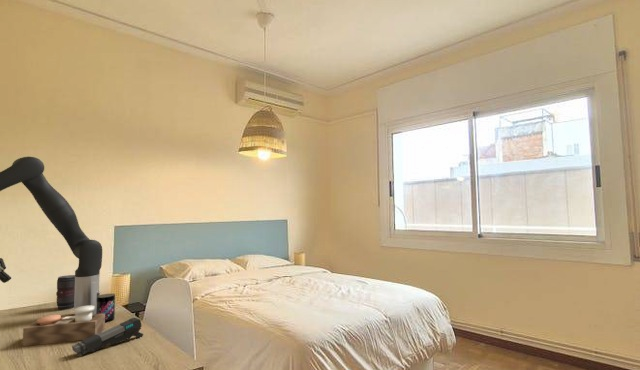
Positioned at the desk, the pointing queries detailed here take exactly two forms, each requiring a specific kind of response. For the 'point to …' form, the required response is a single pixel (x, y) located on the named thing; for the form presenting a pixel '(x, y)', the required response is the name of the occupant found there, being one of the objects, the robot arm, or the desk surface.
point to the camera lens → (65, 292)
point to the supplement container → (106, 306)
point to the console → (63, 330)
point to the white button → (83, 313)
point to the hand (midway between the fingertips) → (8, 280)
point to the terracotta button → (49, 319)
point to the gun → (109, 337)
